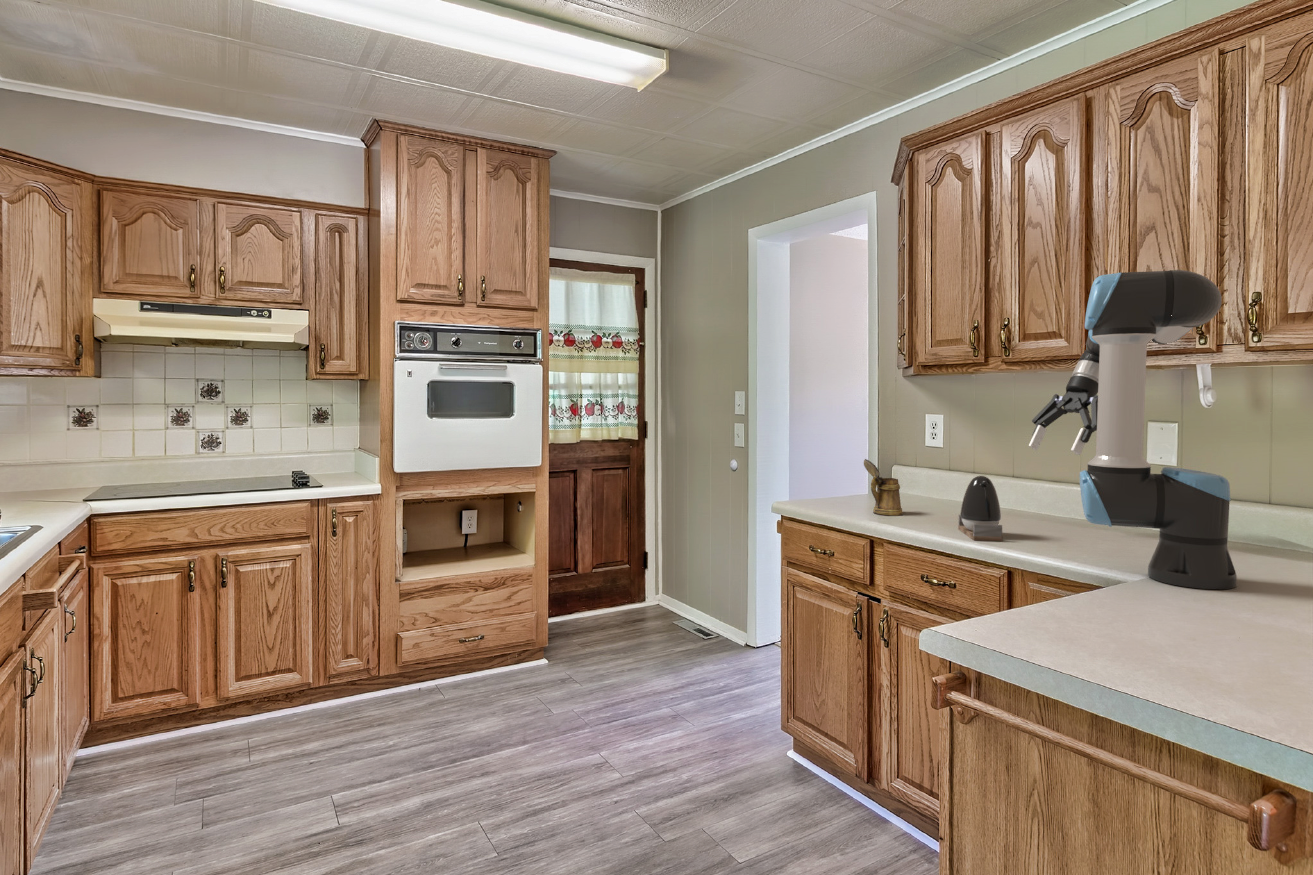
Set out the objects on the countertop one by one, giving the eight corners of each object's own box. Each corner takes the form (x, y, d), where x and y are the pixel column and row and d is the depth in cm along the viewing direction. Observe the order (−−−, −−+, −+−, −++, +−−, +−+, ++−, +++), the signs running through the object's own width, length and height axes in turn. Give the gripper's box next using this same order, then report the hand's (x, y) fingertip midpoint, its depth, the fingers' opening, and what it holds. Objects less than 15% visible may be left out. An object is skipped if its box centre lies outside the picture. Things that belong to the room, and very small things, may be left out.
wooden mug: (855, 513, 243) (856, 457, 241) (891, 510, 247) (892, 456, 246) (872, 517, 234) (872, 460, 233) (908, 514, 239) (909, 458, 237)
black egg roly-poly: (963, 533, 202) (965, 477, 201) (957, 526, 212) (958, 473, 211) (1004, 535, 200) (1006, 478, 199) (995, 527, 210) (997, 473, 209)
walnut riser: (1001, 541, 198) (1002, 525, 197) (974, 540, 199) (974, 524, 198) (984, 529, 213) (984, 515, 213) (958, 529, 214) (958, 514, 214)
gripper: (1137, 388, 192) (1103, 461, 190) (1056, 387, 215) (1025, 452, 213) (1119, 373, 190) (1085, 447, 187) (1039, 374, 213) (1007, 440, 211)
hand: (1053, 450), depth 200 cm, fingers open, 13 cm apart
